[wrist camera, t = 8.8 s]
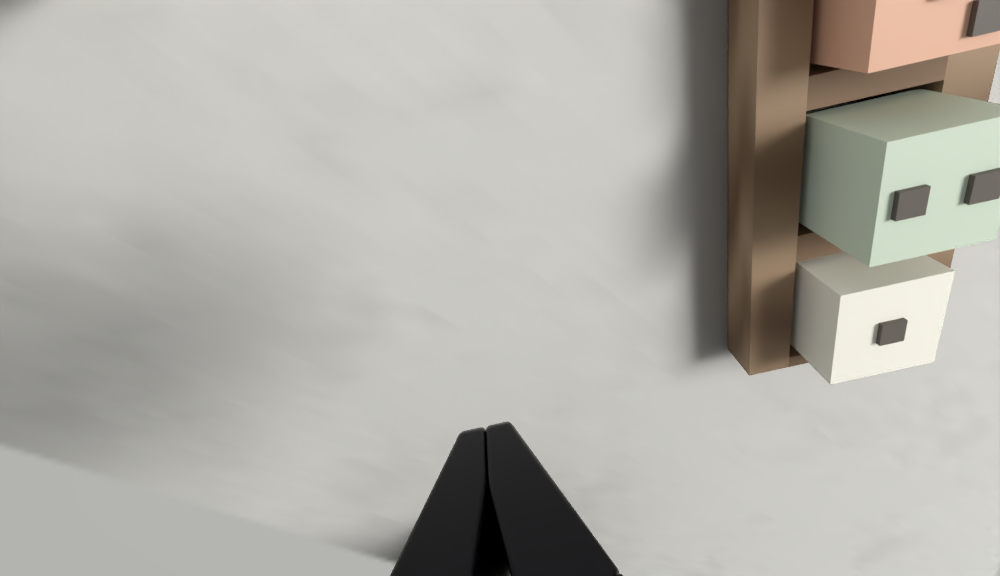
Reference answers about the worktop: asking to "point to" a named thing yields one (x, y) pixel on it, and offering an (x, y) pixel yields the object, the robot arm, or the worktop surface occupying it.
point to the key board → (794, 159)
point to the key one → (868, 314)
